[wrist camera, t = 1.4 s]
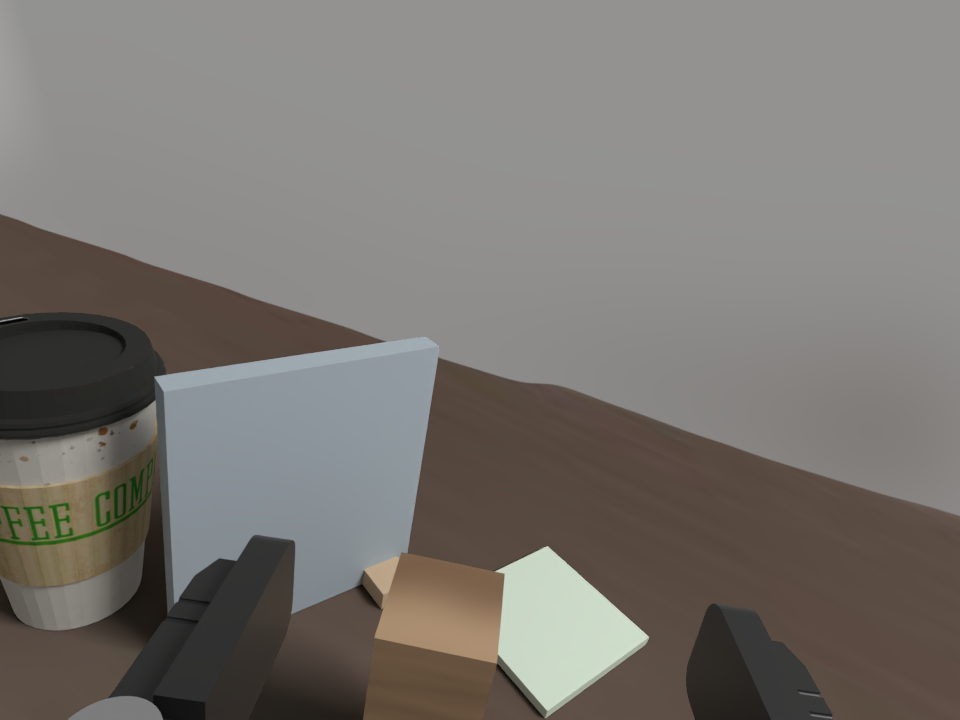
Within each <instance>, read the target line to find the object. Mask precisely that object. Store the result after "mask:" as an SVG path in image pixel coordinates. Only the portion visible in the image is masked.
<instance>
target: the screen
mask: <svg viewBox="0 0 960 720" xmlns="http://www.w3.org/2000/svg"><path fill="white" fill-rule="evenodd" d="M439 347H440V346H438V345H437V344H436V343H434V342H433V341H431V340H430V339H428V338H427V337H418V338H412V339H405V340H398V341H391V342H384V343H378V344H371V345H364V346H357V347H351V348H344V349H337V350H331V351H324V352H317V353H310V354H304V355H297V356H290V357H283V358H277V359H270V360H263V361H257V362H250V363H243V364H236V365H230V366H223V367H216V368H209V369H203V370H196V371H189V372H183V373H176V374H169V375H162V376H156V377H154V380H155V398H156V415H157V433H158V451H159V469H160V486H161V504H162V522H163V539H164V557H165V575H166V593H167V610H168V613H169V611H170V610H171V608H172V607H173V606H174V604H175V603H176V602H178V601H179V597H180V596H181V594H182V593H183V591H184V590H185V589H186V587H187V586H188V584H189V583H190V581H191V580H192V579H193V577H194V576H195V575H196V574H197V573H199V572H200V571H202V570H203V569H205V568H206V567H207V566H209V565H210V564H212V563H213V562H214V561H216V560H217V559H219V558H221V559H228V560H235V561H237V560H238V558H239V556H240V555H241V553H242V552H243V550H244V548H245V547H246V545H247V544H248V542H249V540H250V539H251V538H252V537H253V536H254V535H262V536H268V537H275V538H282V539H289V540H294V542H295V567H294V587H293V604H292V612H291V614H293V613H295V612H298V611H300V610H302V609H305V608H307V607H309V606H312V605H314V604H317V603H319V602H321V601H324V600H326V599H328V598H331V597H333V596H335V595H338V594H340V593H342V592H345V591H347V590H350V589H352V588H354V587H357V586H359V585H361V584H363V586H364V587H365V588H366V590H367V591H368V592H369V594H370V595H371V596H372V598H373V599H374V600H375V602H376V603H377V604H378V606H379V607H380V608H381V609H383V608H384V606H385V603H386V599H387V596H388V593H389V590H390V587H391V584H392V580H393V577H394V574H395V571H396V568H397V565H398V561H399V558H400V555H401V552H403V553H407V551H408V545H409V539H410V532H411V526H412V520H413V513H414V507H415V501H416V494H417V488H418V482H419V475H420V469H421V462H422V456H423V450H424V443H425V437H426V431H427V424H428V418H429V412H430V405H431V399H432V392H433V386H434V380H435V373H436V367H437V361H438V354H439Z"/></svg>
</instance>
